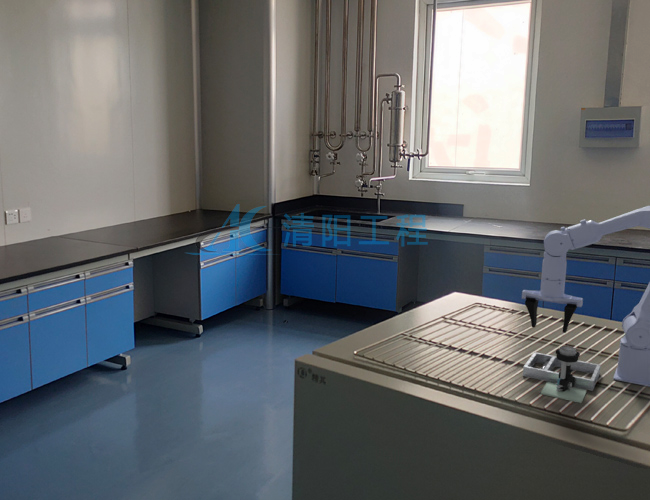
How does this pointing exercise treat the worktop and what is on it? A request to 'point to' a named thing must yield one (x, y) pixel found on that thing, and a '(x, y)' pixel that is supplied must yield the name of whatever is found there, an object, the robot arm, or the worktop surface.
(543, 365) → the rod
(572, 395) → the mat
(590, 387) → the grey divided frame
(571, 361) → the push button
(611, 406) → the worktop surface
